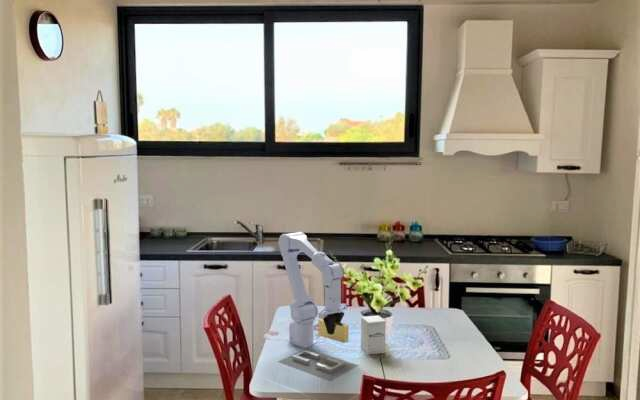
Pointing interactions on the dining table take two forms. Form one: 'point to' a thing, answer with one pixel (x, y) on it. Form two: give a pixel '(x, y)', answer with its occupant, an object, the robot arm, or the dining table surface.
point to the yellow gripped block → (338, 333)
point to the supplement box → (373, 334)
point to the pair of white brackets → (336, 364)
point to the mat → (312, 366)
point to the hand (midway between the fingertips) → (332, 332)
